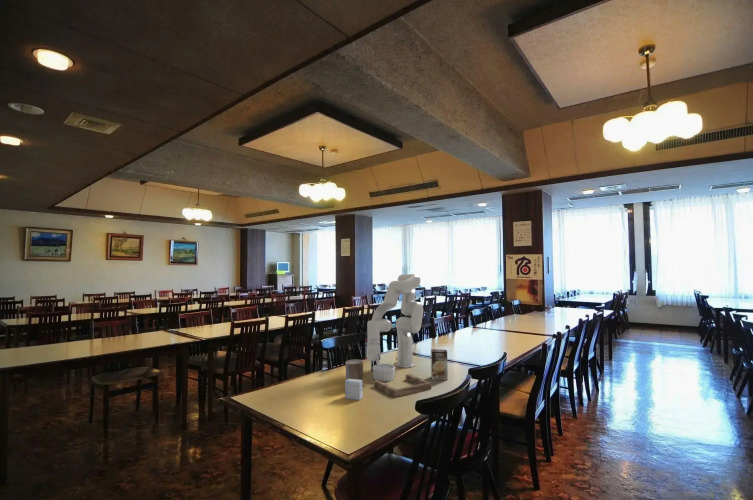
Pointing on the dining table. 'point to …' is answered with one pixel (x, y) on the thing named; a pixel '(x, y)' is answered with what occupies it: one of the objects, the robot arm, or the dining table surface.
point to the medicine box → (353, 389)
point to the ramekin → (384, 372)
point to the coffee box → (439, 364)
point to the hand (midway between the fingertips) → (374, 371)
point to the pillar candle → (354, 369)
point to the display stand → (420, 386)
